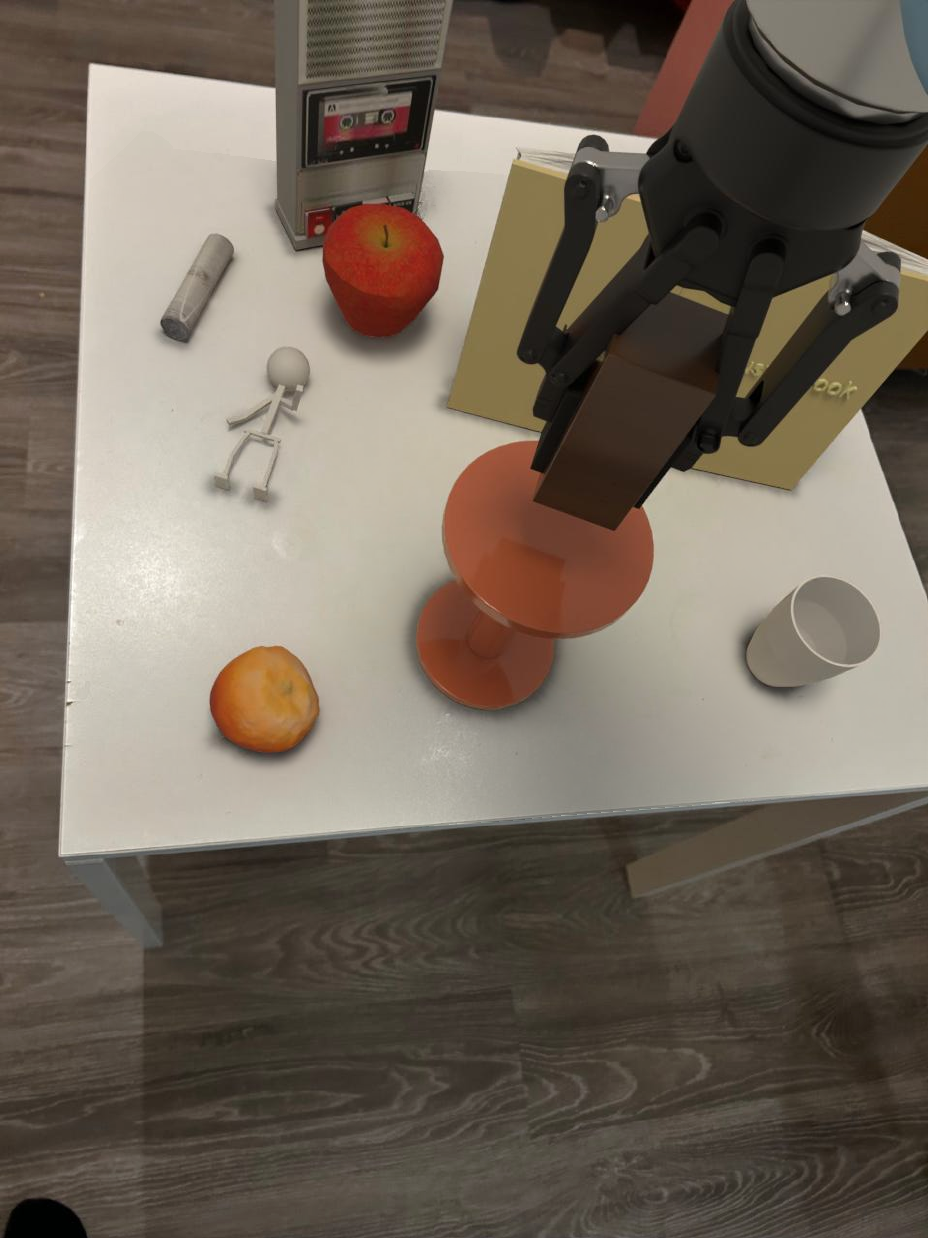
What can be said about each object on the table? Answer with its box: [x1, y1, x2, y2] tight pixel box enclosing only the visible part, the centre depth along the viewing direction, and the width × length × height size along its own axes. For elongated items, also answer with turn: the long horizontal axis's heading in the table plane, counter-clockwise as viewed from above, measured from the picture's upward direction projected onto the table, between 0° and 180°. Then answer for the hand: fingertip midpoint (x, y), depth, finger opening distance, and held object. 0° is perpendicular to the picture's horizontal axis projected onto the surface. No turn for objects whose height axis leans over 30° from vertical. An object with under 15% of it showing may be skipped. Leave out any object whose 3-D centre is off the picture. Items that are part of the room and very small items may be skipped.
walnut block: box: [532, 292, 728, 531], centre depth 41 cm, size 5×5×12 cm
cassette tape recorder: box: [273, 0, 454, 250], centre depth 75 cm, size 14×6×25 cm, turn 115°
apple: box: [321, 204, 445, 338], centre depth 76 cm, size 11×11×12 cm
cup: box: [745, 574, 883, 688], centre depth 71 cm, size 8×8×10 cm
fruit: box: [208, 645, 321, 754], centre depth 62 cm, size 8×8×8 cm
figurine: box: [213, 346, 311, 502], centre depth 72 cm, size 6×6×15 cm
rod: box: [159, 232, 235, 341], centre depth 78 cm, size 12×3×3 cm, turn 165°
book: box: [446, 146, 928, 491], centre depth 73 cm, size 36×8×24 cm, turn 82°
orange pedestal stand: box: [415, 440, 655, 711], centre depth 62 cm, size 14×14×20 cm
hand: (590, 469), depth 46 cm, fingers closed on walnut block, 5 cm apart
